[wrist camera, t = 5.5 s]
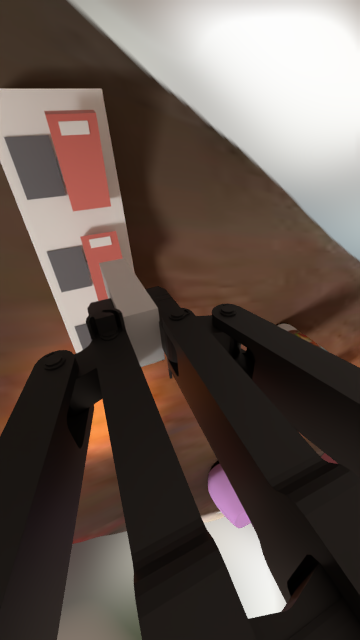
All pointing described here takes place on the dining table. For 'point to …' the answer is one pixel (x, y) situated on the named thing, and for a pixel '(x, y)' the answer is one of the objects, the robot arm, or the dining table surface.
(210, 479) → the teapot
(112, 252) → the rocker
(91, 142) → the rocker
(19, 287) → the dining table surface
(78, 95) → the power strip
